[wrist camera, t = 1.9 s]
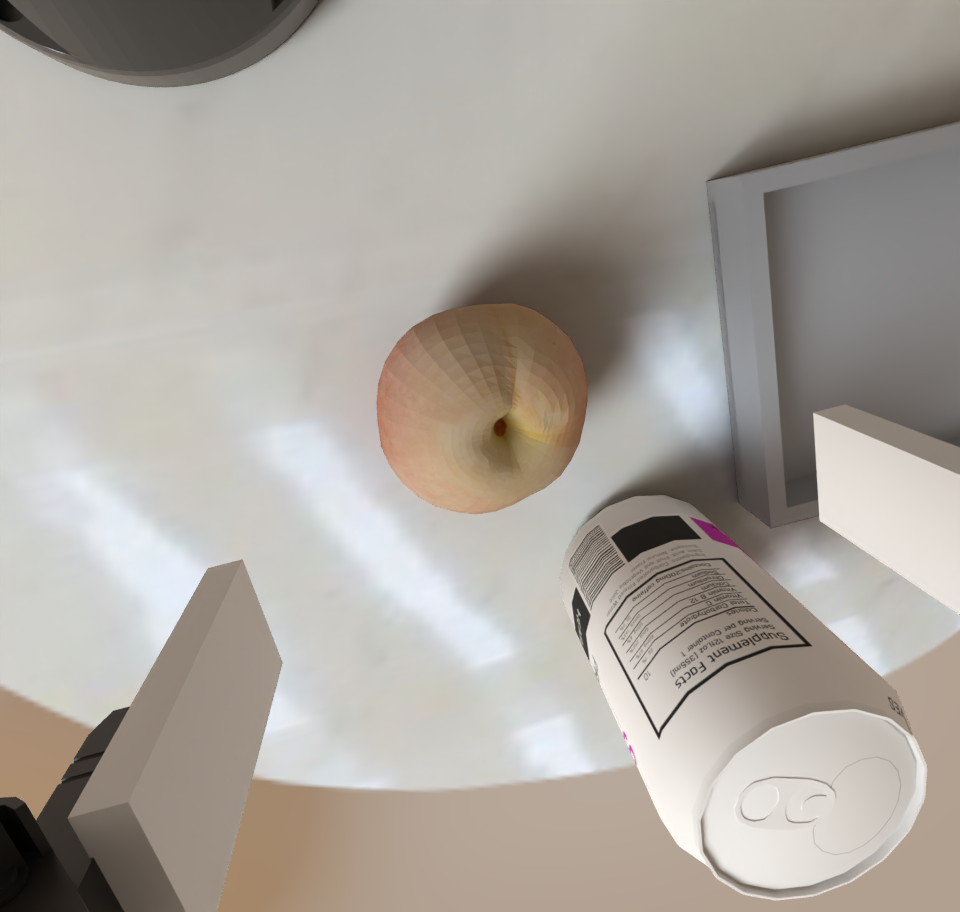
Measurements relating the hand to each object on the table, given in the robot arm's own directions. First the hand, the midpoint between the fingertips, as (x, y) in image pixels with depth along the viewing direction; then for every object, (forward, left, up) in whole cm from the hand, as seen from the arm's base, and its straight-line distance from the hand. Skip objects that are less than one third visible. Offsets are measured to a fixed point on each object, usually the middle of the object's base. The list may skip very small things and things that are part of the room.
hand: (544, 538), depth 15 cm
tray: (+1, +21, -15) cm, 26 cm away
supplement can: (+11, +6, -16) cm, 20 cm away
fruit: (0, 0, -16) cm, 16 cm away
